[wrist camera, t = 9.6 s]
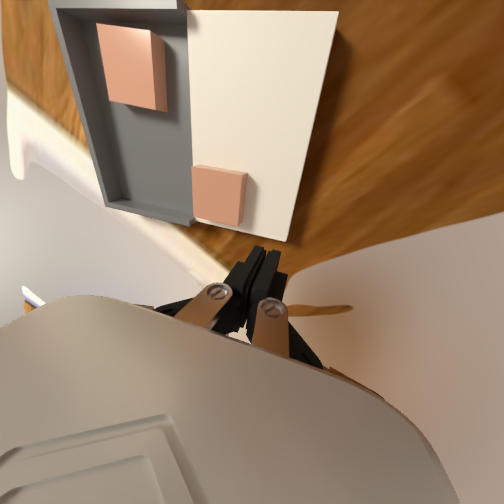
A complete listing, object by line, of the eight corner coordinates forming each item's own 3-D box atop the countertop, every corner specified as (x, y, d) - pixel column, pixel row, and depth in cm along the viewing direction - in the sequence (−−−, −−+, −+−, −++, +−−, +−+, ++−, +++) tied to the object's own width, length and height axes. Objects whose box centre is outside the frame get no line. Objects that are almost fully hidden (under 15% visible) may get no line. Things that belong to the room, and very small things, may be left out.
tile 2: (200, 164, 23) (191, 166, 22) (247, 172, 22) (241, 175, 21) (201, 212, 27) (193, 216, 25) (242, 221, 25) (237, 226, 24)
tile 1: (114, 33, 20) (96, 23, 19) (164, 39, 20) (149, 30, 18) (124, 103, 24) (109, 100, 22) (167, 112, 23) (155, 110, 21)
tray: (87, 17, 22) (45, -5, 18) (200, 20, 19) (175, -6, 16) (127, 199, 32) (105, 206, 29) (203, 217, 30) (189, 226, 26)
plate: (200, 24, 19) (186, 10, 17) (336, 27, 17) (338, 11, 15) (203, 215, 30) (195, 220, 28) (288, 234, 27) (285, 241, 25)
